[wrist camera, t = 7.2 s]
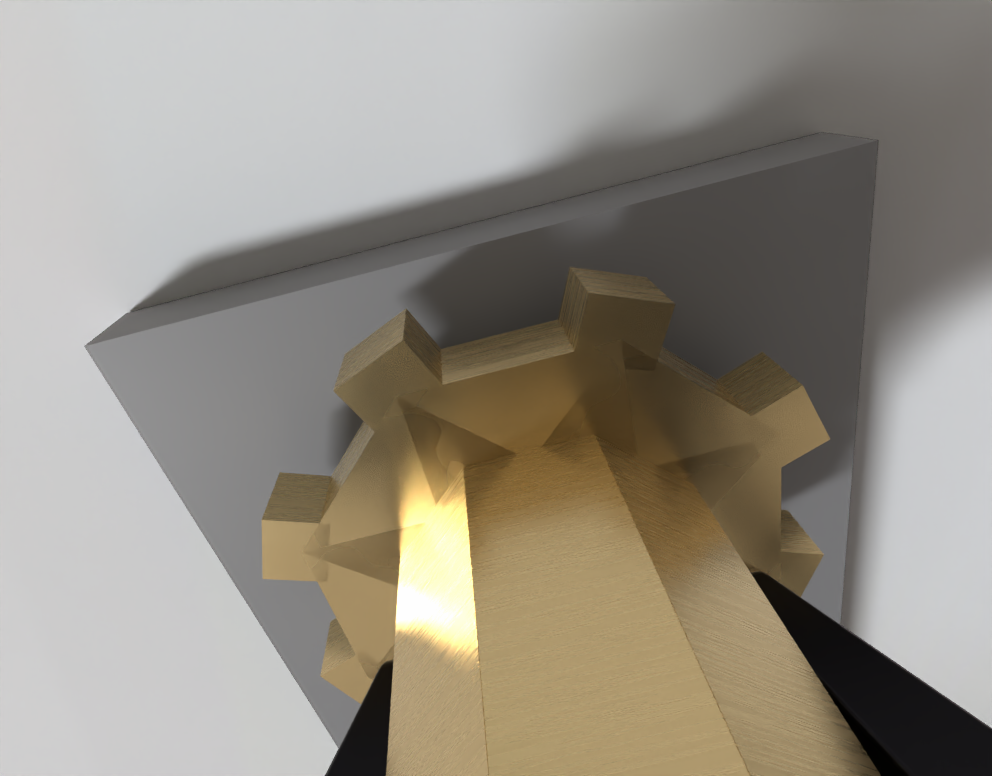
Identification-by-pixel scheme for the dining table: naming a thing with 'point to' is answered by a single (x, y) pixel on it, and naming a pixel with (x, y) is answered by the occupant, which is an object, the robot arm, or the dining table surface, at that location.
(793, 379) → the brass gear
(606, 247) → the plate
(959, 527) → the dining table surface
